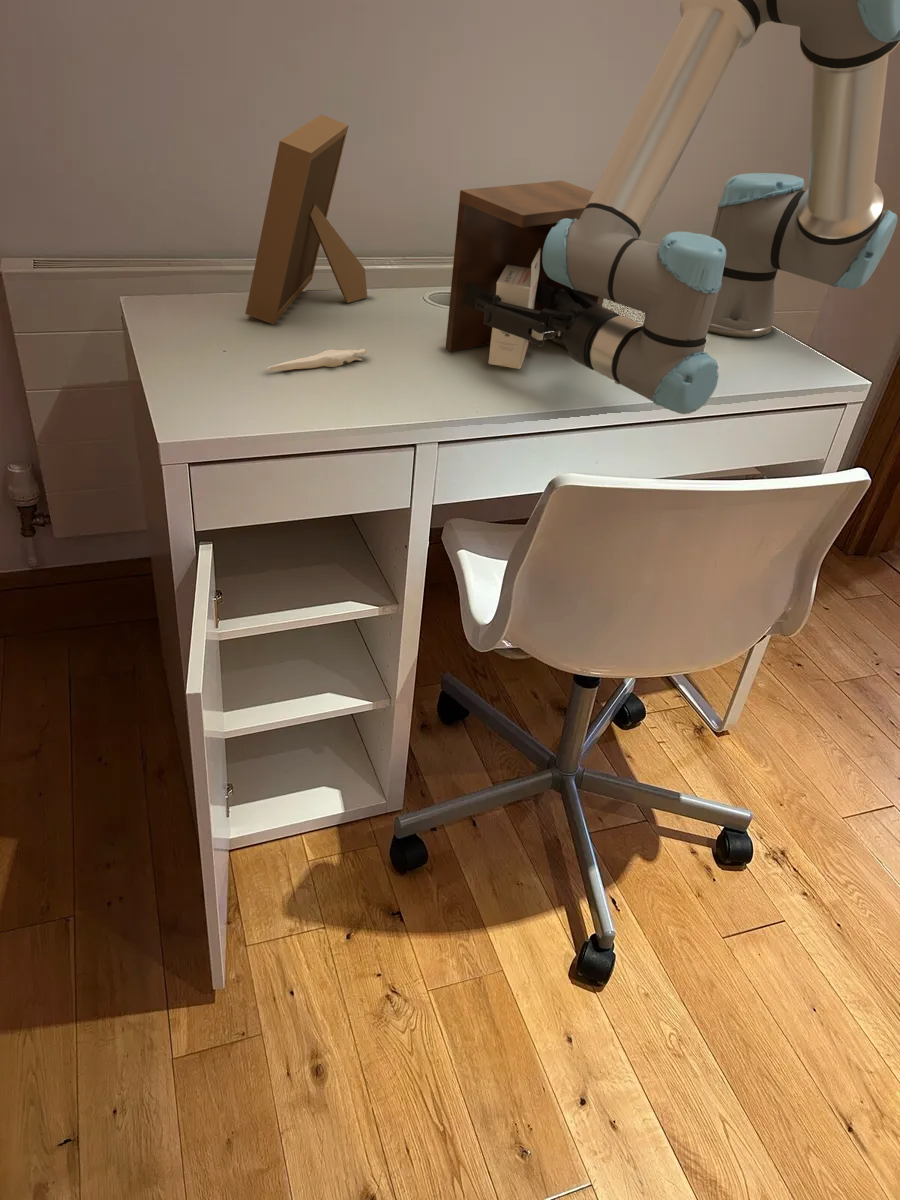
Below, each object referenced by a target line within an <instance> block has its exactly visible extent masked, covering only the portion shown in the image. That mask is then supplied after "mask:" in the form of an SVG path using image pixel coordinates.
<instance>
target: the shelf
mask: <svg viewBox="0 0 900 1200" xmlns="http://www.w3.org/2000/svg"><path fill="white" fill-rule="evenodd" d="M593 192H594V191H592V190H589V189H586V188H585V187H581V186H578V185H576V184H573V183H570V182H568V181H564V180H562V179H561V180H552V181H542V182H541V181H540V182H531V183H521V184H509V185H499V186H498V185H497V186H488V187H477V188H476V187H475V188H465V189H460V190H459V201H458V209H457V210H458V211H457V221H456V230H455V231H456V232H455V240H454V241H455V242H454V253H453V262H452V263H453V264H452V274H451V284H450V285H451V286H450V295H449V306H448V316H447V317H448V318H447V328H446V340H445V350H446V351H447V352H449V353H453V352H458V351H463V350H467V349H472V348H478V347H482V346H486V345H490V344H491V335H492V327H490V326H488V325H485V324H484V314H485V313H483V312H481V311H479V310H477V309H475V308H473V307H471V306H470V305H468V304H466V303H465V296H466V286H467V284H468V283H472V284H474V285H476V286H478V287H480V288H482V289H484V290H486V291H488V292H490V293H492V294H494V295H496V286H497V281H498V279H499V277H500V276H501V274H502V272H503V270H504V269H505V267H506V265H512V266H519V267H525V268H531V264H532V262H533V260H534V258H535V256H536V254H537V252H538V250H539V248H540V269H539V277H538V280H539V281H541V282H543V283H545V284H547V285H550V286H552V287H554V288H555V289H556V290H557V289H560V288H561V289H564V290H565V291H566V292H569V289H570V287H568V286H565V285H563V284H560V283H558V282H556V281H554V280H552V279H550V278H549V277H547V274H546V273H545V271H544V268H543V263H542V253H543V247H544V243H545V240H546V238H547V235H548V233H549V232H550V230H551V229H552V227H554V226H556V224H557V223H558V221H560V220H562V219H565V218H568V219H578V220H579V219H580V217H581V215H582V213H583V211H584V209H585V207H586V205H587V204H588V202H589V200H590V198H591V196H592V194H593ZM535 268H536V265H535ZM580 292H582V291H580ZM582 293H583V294H584V295H586V296H587V297H589V298H590V299H592V300H593V301H595V302H596V303H598V304H599V305H601V306H602V307H603V304H604V300H605V299H604V298H601V297H598V296H595V295H591V294H588V293H585V292H582ZM554 305H555V303H553V305H552V307H550V308H548V307H546V306H544V305H542V304H540V303H537V302H535V304H534V310H539V311H542V310H543V309H545V308H546V309H551V310H554ZM549 317H550V316H547V321H546V328H548V321H549ZM549 340H550V341H552V342H554V343H556V344H558V345H560V346H562V347H564V348H565V349H567V347H566V345H565V344H561V343H557V342H556V341H554V340H552V339H549Z"/></svg>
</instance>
